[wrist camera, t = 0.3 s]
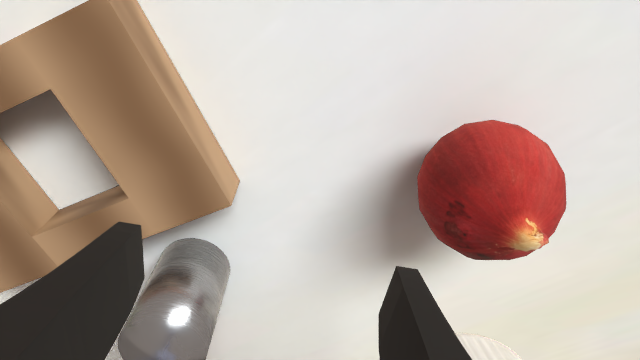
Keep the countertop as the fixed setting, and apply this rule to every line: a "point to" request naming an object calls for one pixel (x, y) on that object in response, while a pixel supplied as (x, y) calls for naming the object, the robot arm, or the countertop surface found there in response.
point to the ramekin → (485, 348)
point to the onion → (492, 191)
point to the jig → (106, 136)
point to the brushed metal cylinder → (177, 304)
